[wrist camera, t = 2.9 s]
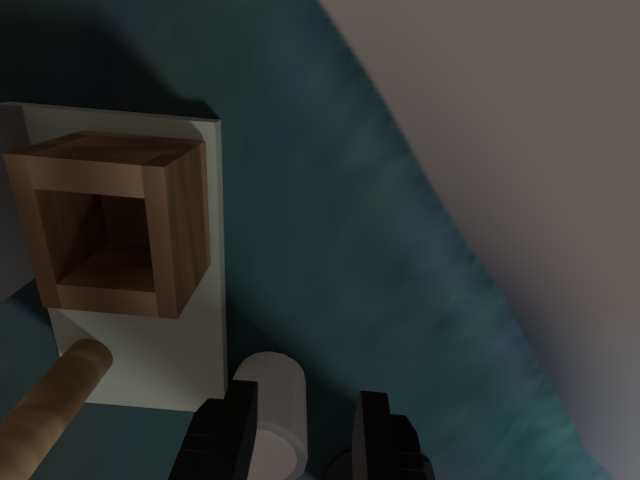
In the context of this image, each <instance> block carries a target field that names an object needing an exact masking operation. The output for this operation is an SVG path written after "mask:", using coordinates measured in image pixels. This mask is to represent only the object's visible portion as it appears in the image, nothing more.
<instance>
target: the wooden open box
mask: <svg viewBox="0 0 640 480" xmlns="http://www.w3.org/2000/svg"><path fill="white" fill-rule="evenodd" d="M3 157H4V161H5V165H6V169H7V173H8V176H9V180H10V184H11V188H12V192H13V195H14V199H15V203H16V207H17V211H18V215H19V218H20V222H21V226H22V230H23V234H24V237H25V241H26V245H27V249H28V253H29V257H30V260H31V264H32V268H33V272H34V276H35V279H36V283H37V287H38V291H39V295H40V299H41V302H42V306H43V308H55V309H66V310H78V311H89V312H101V313H112V314H124V315H135V316H147V317H158V318H170V319H178V318H179V316H180V314H181V313H182V311H183V309H184V308H185V306H186V304H187V303H188V301H189V300H190V298H191V296H192V295H193V293H194V291H195V290H196V288H197V286H198V285H199V283H200V281H201V280H202V278H203V276H204V275H205V273H206V271H207V270H208V268H209V266H210V265H211V254H210V231H209V208H208V185H207V162H206V141H202V140H190V139H179V138H167V137H156V136H144V135H133V134H121V133H110V132H98V131H86V130H82V131H79V132H75V133H72V134H68V135H65V136H61V137H58V138H54V139H51V140H48V141H44V142H41V143H37V144H34V145H30V146H27V147H23V148H20V149H16V150H13V151H9V152H6V153H3Z"/></svg>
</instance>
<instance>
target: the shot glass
mask: <svg viewBox="0 0 640 480" xmlns="http://www.w3.org/2000/svg"><path fill="white" fill-rule="evenodd" d="M233 379H235V380H247V381H257V382H258V421H257V432H256V439H255V444H254V449H253V454H252V459H251V463H250V468H249V473H248V478H247V480H296V479H297V478H298V477H299V476H301V475H302V474H303V473H304V470H305V467H306V463H307V460H308V450H307V411H306V380H305V376H304V372H303V369H302V368H301V367H300V366H299V364H298V363H297V362H296V361H295V360H293V359H291V358H290V357H288V356H286V355H284V354H281V353H276V352H271V351H269V352H260V353H255V354H253V355H251V356H249V357H247V358H245V359H244V360H243V362H242V363H241V364H240V365H239V367H238V368H237V371H236V373H235V375H234V377H233Z"/></svg>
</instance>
